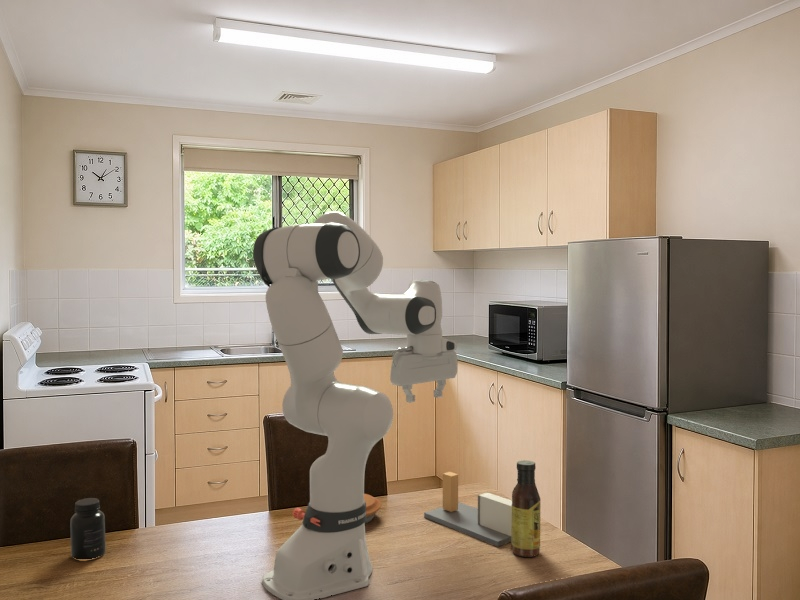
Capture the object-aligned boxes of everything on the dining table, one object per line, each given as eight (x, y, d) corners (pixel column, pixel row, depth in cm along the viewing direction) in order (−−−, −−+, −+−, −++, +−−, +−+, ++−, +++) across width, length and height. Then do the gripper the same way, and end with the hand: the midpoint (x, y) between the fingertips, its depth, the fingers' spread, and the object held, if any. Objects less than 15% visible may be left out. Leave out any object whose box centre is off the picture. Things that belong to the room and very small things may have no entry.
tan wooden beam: (451, 511, 171) (451, 476, 170) (442, 508, 173) (442, 473, 172) (458, 509, 172) (458, 474, 172) (449, 506, 174) (449, 471, 174)
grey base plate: (498, 546, 153) (498, 510, 153) (424, 517, 171) (424, 484, 171) (531, 532, 161) (531, 498, 161) (457, 506, 179) (457, 475, 179)
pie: (306, 519, 170) (305, 500, 170) (350, 503, 182) (350, 484, 181) (350, 535, 160) (350, 514, 160) (394, 517, 172) (394, 497, 171)
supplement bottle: (66, 555, 149) (64, 501, 148) (97, 546, 154) (96, 493, 153) (79, 565, 144) (77, 509, 143) (111, 555, 149) (109, 500, 148)
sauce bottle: (540, 559, 146) (541, 468, 145) (510, 557, 148) (511, 466, 147) (540, 547, 153) (541, 459, 152) (511, 545, 154) (512, 457, 153)
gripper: (401, 349, 162) (401, 407, 163) (461, 342, 176) (461, 396, 177) (384, 347, 167) (384, 403, 168) (444, 340, 181) (444, 392, 181)
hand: (424, 399), depth 172 cm, fingers open, 8 cm apart
